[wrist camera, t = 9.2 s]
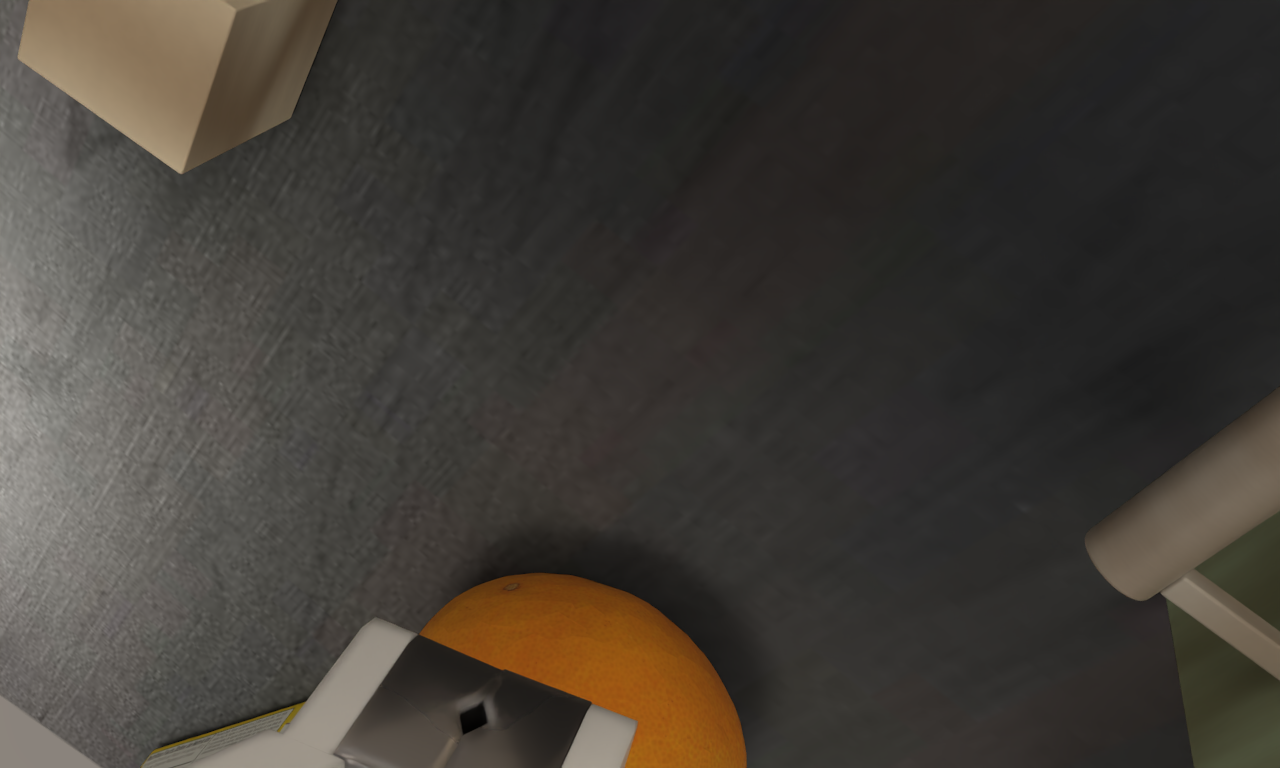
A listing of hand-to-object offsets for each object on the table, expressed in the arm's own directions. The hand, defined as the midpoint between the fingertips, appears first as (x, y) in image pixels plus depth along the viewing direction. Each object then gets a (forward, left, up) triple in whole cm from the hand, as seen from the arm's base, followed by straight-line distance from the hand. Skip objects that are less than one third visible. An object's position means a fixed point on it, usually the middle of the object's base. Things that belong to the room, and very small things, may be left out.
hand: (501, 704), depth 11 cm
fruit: (+16, +5, -16) cm, 24 cm away
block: (+4, -13, -16) cm, 21 cm away
